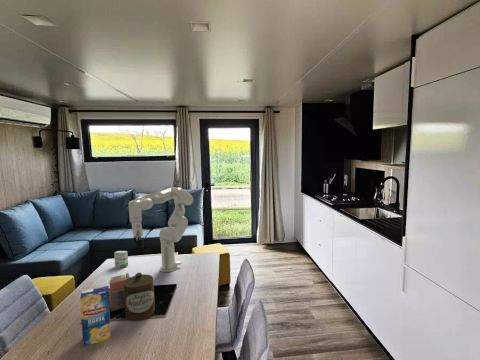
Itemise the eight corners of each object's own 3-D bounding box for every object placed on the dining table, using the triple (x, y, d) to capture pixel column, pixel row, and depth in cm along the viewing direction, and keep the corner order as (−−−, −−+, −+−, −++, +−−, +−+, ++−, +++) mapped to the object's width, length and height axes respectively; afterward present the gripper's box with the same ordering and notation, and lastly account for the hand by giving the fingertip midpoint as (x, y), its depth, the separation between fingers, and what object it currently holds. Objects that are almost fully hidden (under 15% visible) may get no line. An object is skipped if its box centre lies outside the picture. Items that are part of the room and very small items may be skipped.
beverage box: (84, 337, 120) (81, 291, 118) (110, 330, 125) (108, 285, 123) (82, 346, 114) (80, 298, 112) (110, 338, 119) (108, 292, 117)
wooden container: (126, 324, 129) (124, 281, 127) (124, 309, 142) (122, 270, 140) (157, 316, 136) (155, 275, 134) (152, 302, 149) (151, 265, 147)
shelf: (128, 288, 167) (128, 271, 166) (134, 304, 147) (133, 285, 146) (108, 293, 161) (107, 276, 160) (110, 311, 141) (109, 291, 140)
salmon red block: (127, 294, 154) (126, 276, 154) (128, 297, 151) (127, 279, 150) (110, 299, 150) (109, 280, 149) (110, 302, 146) (110, 283, 145)
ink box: (128, 265, 205) (127, 250, 204) (125, 267, 200) (124, 252, 199) (118, 265, 206) (117, 250, 205) (114, 267, 201) (113, 252, 200)
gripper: (144, 220, 165) (146, 246, 167) (139, 215, 180) (141, 239, 182) (132, 222, 162) (134, 249, 163) (127, 217, 176) (129, 241, 178)
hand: (137, 244), depth 173 cm, fingers open, 9 cm apart
